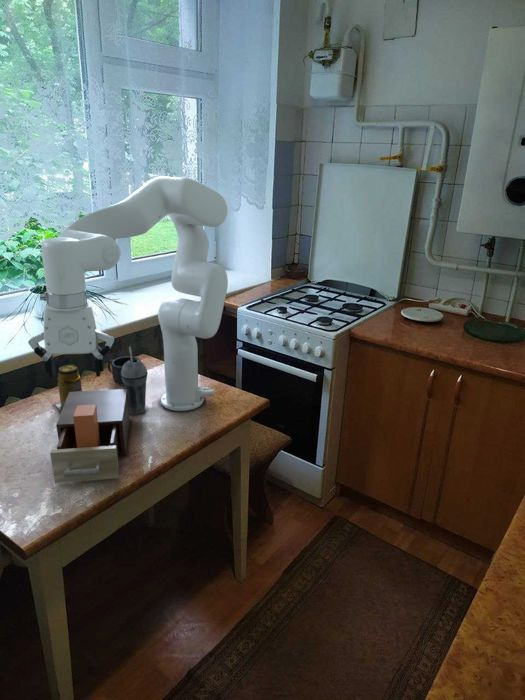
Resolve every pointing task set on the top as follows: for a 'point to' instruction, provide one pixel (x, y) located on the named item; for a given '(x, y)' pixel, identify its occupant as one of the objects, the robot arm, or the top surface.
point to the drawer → (86, 456)
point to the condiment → (68, 382)
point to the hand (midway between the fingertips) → (76, 374)
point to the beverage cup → (135, 384)
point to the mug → (119, 368)
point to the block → (86, 426)
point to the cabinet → (99, 411)
